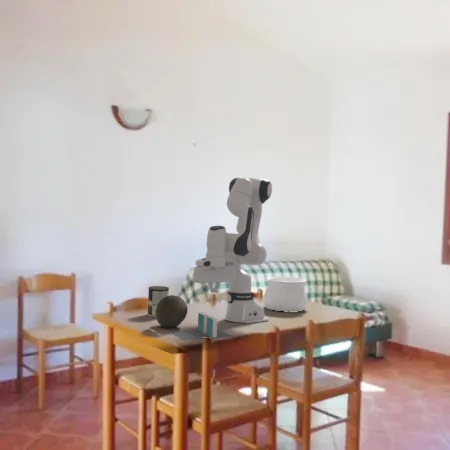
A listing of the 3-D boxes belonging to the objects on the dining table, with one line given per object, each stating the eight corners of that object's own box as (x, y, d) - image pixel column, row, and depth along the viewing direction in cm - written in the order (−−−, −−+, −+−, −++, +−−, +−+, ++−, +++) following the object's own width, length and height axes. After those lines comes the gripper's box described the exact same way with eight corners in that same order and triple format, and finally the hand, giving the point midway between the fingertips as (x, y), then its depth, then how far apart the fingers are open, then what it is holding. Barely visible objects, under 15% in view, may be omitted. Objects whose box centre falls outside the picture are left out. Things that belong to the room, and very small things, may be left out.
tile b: (210, 334, 280) (211, 316, 280) (216, 337, 275) (217, 318, 275) (206, 334, 279) (207, 316, 279) (212, 337, 274) (213, 319, 274)
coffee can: (143, 315, 318) (144, 287, 317) (155, 312, 327) (156, 285, 326) (159, 318, 313) (160, 289, 312) (172, 315, 322) (173, 287, 321)
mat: (216, 329, 293) (216, 328, 293) (233, 337, 278) (233, 336, 278) (168, 332, 282) (168, 331, 282) (183, 341, 267) (183, 340, 267)
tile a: (201, 329, 288) (202, 312, 288) (207, 332, 283) (208, 314, 282) (197, 330, 287) (198, 312, 287) (203, 332, 282) (204, 315, 282)
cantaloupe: (165, 332, 282) (166, 299, 281) (149, 326, 294) (151, 294, 293) (192, 329, 290) (193, 297, 290) (175, 323, 302) (177, 292, 301)
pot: (305, 315, 338) (307, 283, 337) (260, 311, 343) (261, 280, 342) (308, 306, 363) (309, 277, 363) (265, 303, 368) (267, 274, 367)
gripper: (232, 261, 293) (231, 290, 294) (192, 261, 284) (190, 291, 284) (239, 262, 288) (237, 292, 288) (198, 262, 278) (196, 294, 279)
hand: (214, 292), depth 286 cm, fingers closed
